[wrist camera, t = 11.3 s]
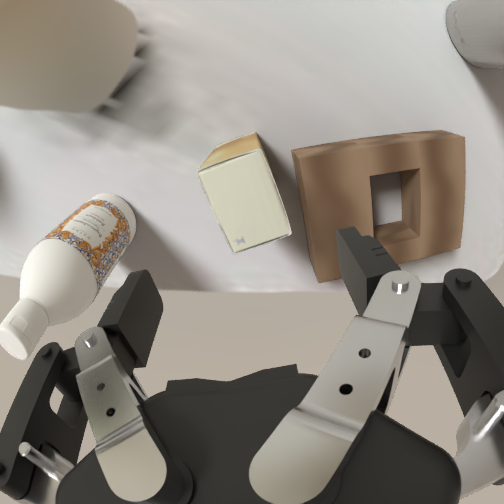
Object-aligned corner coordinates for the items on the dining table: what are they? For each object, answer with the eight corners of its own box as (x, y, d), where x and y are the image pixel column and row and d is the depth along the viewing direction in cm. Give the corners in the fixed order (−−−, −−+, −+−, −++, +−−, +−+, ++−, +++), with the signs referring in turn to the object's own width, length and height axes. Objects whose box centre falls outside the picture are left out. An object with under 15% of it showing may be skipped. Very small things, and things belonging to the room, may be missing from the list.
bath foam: (147, 210, 31) (58, 344, 14) (125, 257, 34) (50, 393, 16) (95, 181, 29) (-28, 283, 12) (78, 230, 32) (-21, 345, 14)
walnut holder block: (441, 130, 27) (464, 137, 23) (441, 231, 33) (460, 247, 29) (291, 150, 29) (298, 158, 25) (310, 261, 35) (318, 283, 31)
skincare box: (277, 186, 30) (296, 239, 20) (237, 200, 31) (233, 260, 20) (255, 127, 27) (262, 145, 17) (213, 143, 28) (193, 172, 17)
